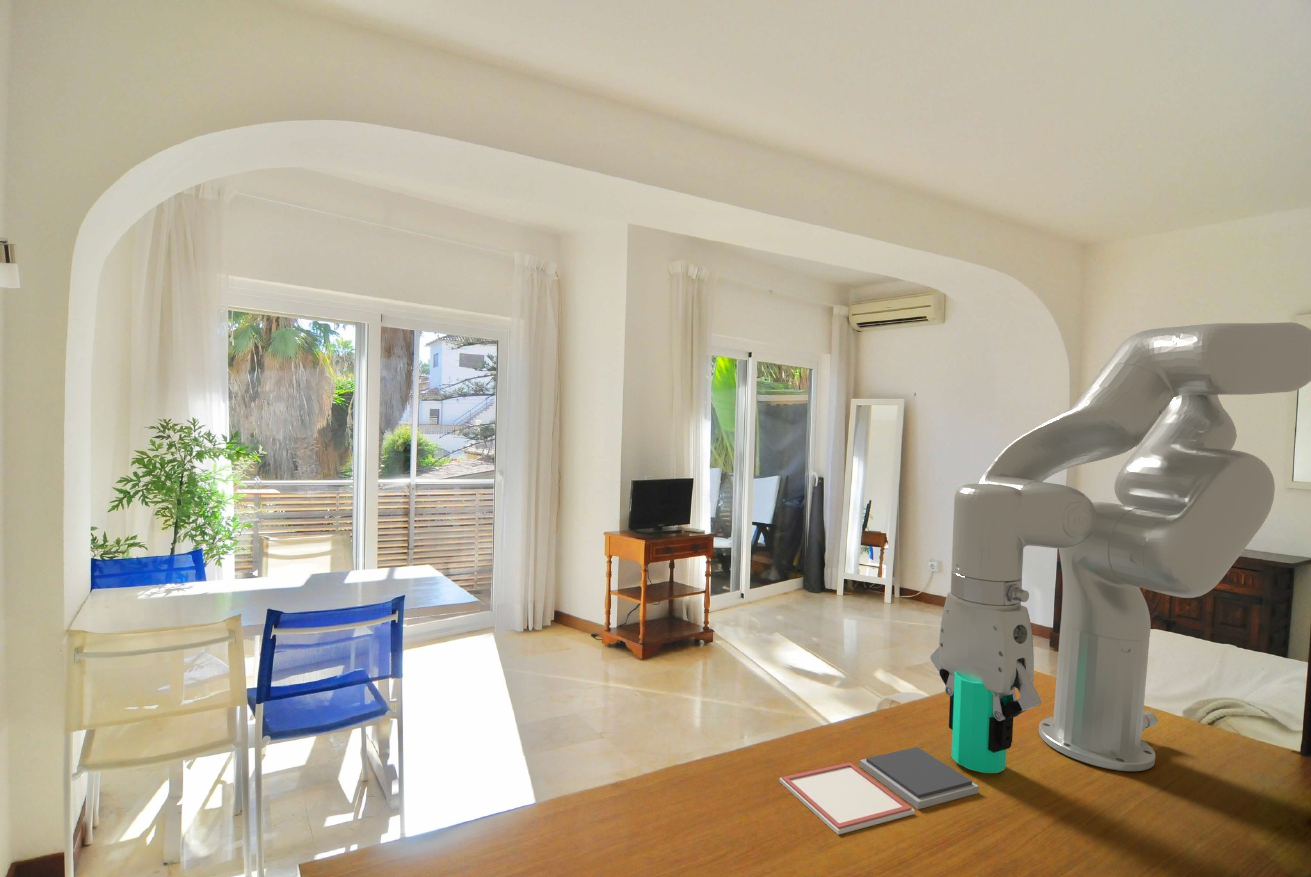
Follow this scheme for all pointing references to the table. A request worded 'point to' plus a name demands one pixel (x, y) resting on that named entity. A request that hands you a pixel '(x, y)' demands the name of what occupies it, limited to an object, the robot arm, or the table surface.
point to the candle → (974, 727)
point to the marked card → (845, 797)
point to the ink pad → (919, 777)
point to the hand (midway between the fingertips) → (979, 736)
